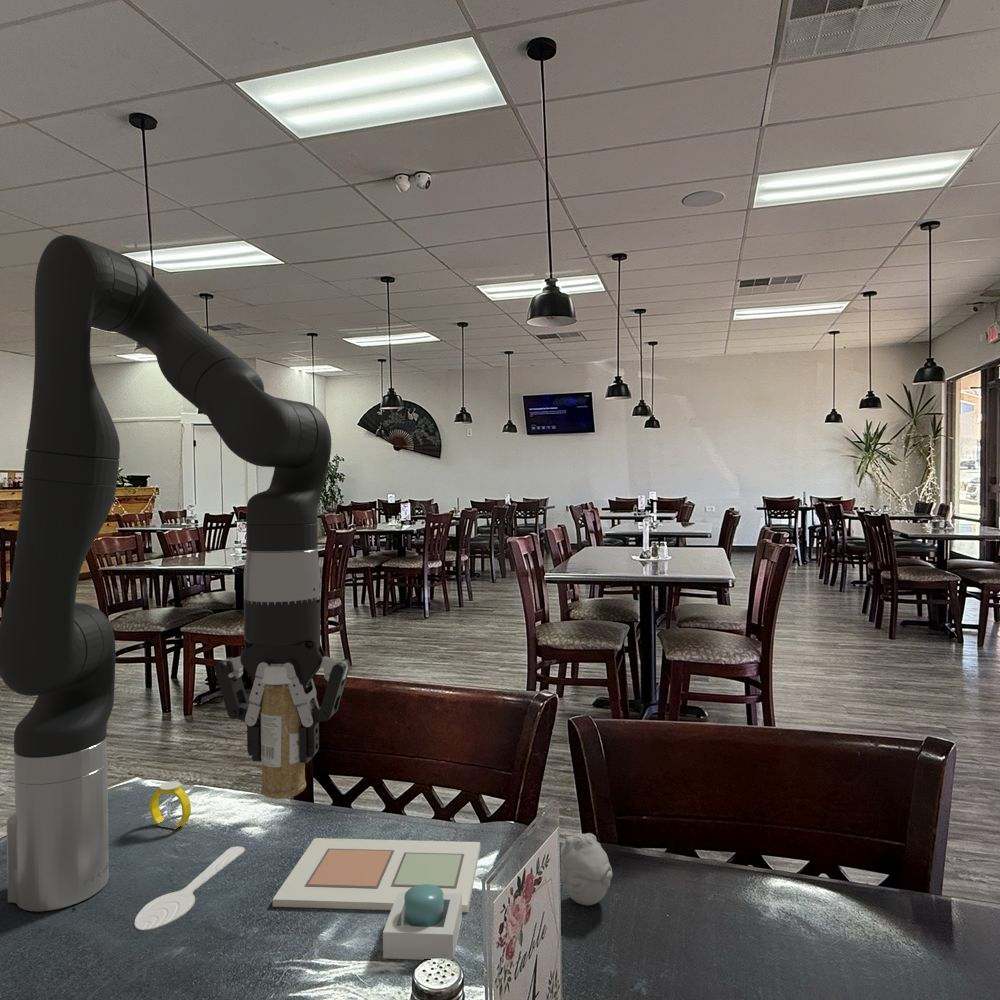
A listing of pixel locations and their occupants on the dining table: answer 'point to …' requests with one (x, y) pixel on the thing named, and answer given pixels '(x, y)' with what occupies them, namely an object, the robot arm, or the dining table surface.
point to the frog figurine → (585, 869)
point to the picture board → (377, 872)
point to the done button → (423, 905)
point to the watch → (177, 791)
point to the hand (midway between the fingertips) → (283, 758)
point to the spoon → (180, 896)
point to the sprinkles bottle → (280, 737)
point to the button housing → (422, 932)
